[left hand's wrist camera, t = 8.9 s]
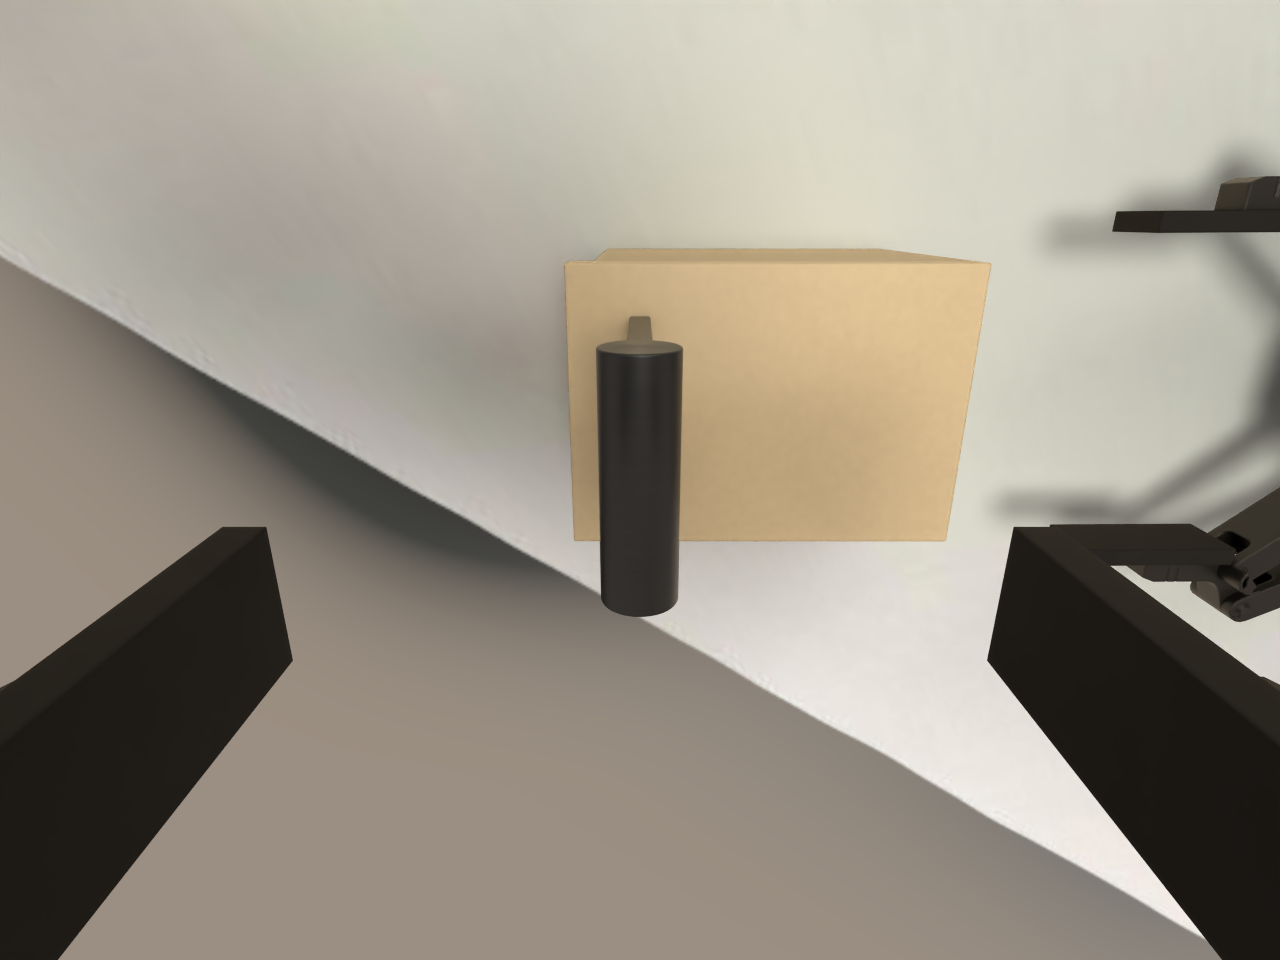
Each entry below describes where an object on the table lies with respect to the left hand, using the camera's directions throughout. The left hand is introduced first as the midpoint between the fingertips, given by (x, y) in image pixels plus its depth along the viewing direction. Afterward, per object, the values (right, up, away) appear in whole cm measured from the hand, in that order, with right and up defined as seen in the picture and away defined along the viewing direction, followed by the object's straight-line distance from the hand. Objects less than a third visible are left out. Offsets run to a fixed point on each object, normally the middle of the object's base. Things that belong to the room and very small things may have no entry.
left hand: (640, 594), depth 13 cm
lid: (+5, +5, +13) cm, 15 cm away
